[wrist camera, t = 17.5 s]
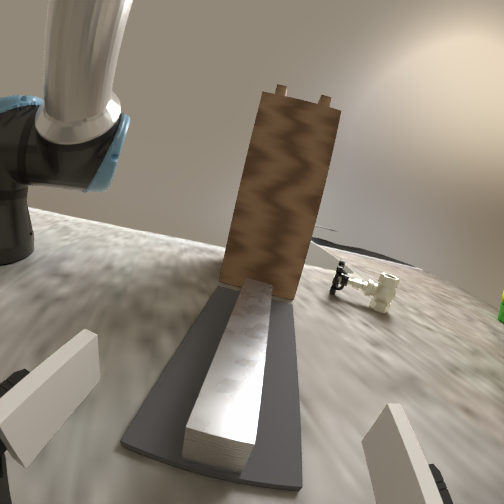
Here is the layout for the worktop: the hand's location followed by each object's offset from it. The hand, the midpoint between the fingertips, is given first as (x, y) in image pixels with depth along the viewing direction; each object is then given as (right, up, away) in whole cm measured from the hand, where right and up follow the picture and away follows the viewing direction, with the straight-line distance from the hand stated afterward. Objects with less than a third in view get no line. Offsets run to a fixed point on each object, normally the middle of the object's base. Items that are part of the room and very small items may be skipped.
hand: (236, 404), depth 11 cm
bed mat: (0, -4, +16) cm, 16 cm away
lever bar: (0, -3, +14) cm, 14 cm away
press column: (+2, +2, +41) cm, 41 cm away
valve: (+20, -3, +39) cm, 44 cm away
